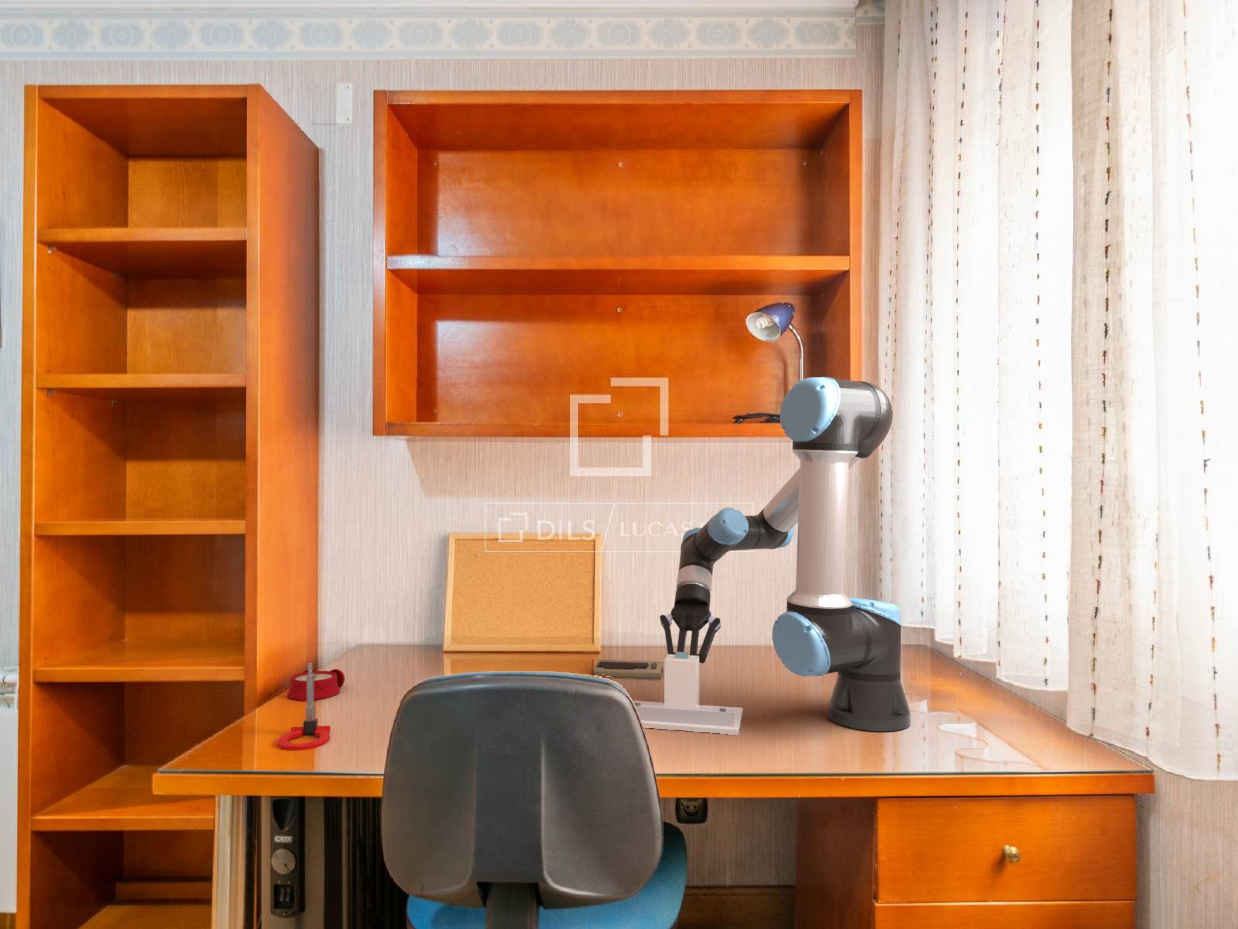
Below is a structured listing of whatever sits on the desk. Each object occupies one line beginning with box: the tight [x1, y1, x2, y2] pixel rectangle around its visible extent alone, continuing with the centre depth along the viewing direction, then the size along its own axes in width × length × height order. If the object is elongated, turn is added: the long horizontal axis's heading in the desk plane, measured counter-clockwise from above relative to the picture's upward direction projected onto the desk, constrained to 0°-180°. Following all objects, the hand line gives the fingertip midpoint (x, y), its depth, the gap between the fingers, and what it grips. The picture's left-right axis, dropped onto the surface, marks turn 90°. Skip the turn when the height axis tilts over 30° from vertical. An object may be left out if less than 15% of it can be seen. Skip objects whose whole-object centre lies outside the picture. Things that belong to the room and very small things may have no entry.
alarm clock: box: [284, 668, 346, 703], centre depth 168 cm, size 10×6×15 cm
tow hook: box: [277, 662, 331, 751], centre depth 137 cm, size 8×13×9 cm
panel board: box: [633, 700, 744, 736], centre depth 150 cm, size 22×14×4 cm, turn 78°
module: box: [663, 651, 700, 708], centre depth 150 cm, size 6×5×12 cm
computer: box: [593, 659, 664, 681], centre depth 185 cm, size 16×8×3 cm, turn 83°
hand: (682, 692), depth 153 cm, fingers closed
